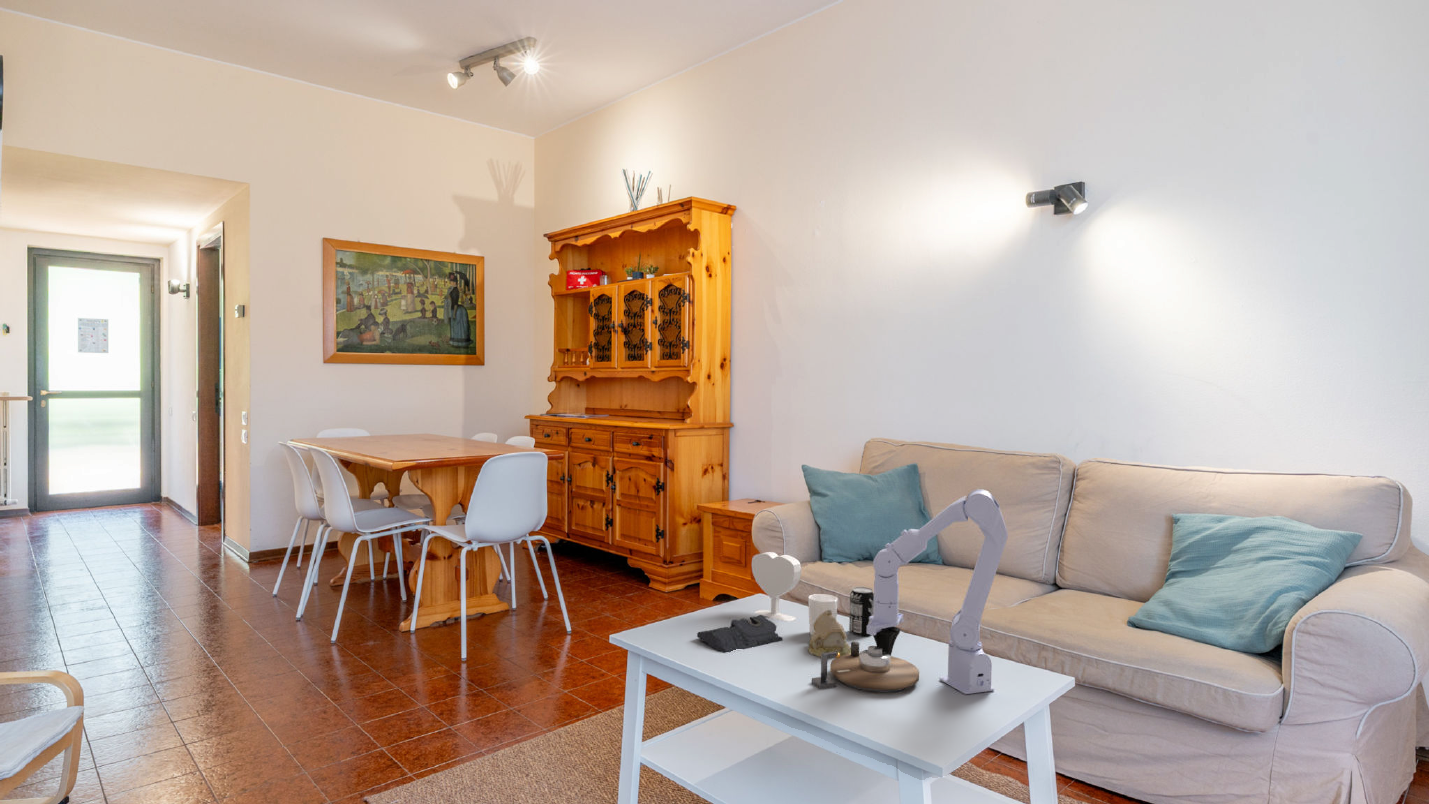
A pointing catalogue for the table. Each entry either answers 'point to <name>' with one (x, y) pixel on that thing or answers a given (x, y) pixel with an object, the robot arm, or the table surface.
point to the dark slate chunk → (742, 634)
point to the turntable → (896, 678)
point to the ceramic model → (828, 636)
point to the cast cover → (874, 660)
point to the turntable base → (874, 689)
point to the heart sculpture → (775, 579)
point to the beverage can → (860, 610)
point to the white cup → (820, 607)
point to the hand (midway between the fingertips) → (884, 658)
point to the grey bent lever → (825, 672)
